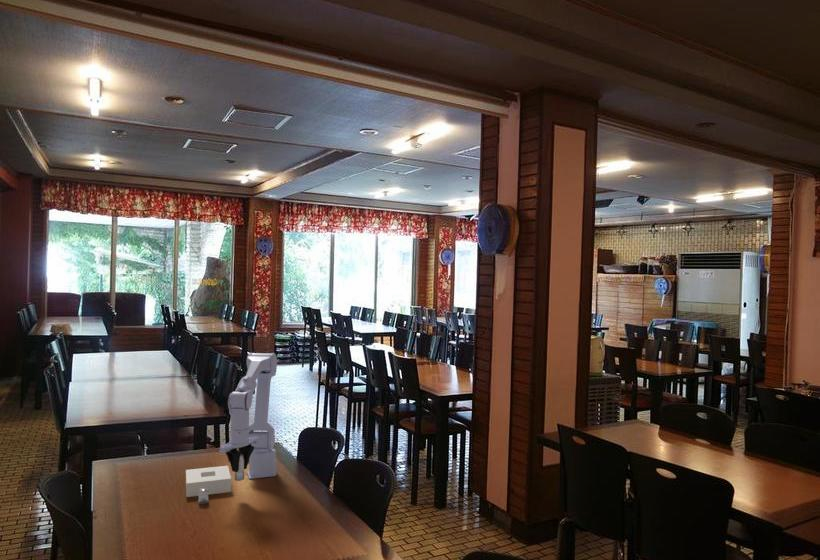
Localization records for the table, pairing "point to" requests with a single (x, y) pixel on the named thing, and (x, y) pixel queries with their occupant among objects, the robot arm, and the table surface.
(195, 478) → the hole block
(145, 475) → the table surface
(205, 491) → the short steel pin
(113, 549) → the table surface
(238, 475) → the tall steel pin
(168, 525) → the table surface
